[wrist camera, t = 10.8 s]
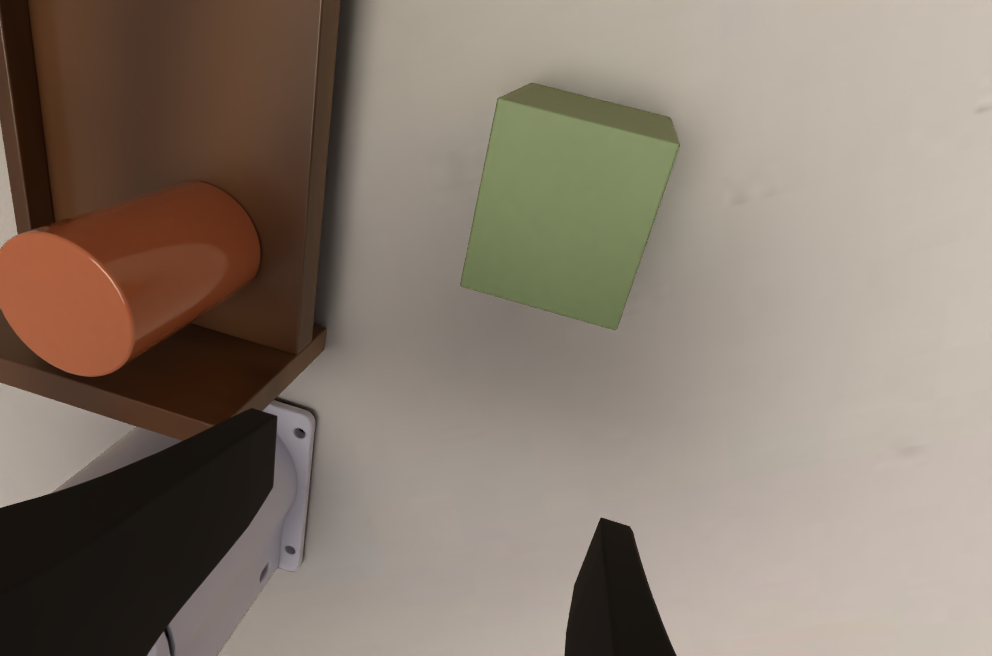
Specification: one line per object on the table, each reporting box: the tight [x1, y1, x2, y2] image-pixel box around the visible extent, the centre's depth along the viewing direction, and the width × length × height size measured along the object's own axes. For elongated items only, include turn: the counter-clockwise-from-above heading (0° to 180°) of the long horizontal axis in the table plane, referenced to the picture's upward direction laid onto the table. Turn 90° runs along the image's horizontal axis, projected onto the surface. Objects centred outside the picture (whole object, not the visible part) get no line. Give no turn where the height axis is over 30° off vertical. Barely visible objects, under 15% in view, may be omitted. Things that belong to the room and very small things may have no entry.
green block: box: [460, 83, 680, 330], centre depth 18 cm, size 5×4×5 cm
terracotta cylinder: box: [0, 181, 261, 377], centre depth 18 cm, size 4×4×6 cm
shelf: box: [0, 0, 341, 441], centre depth 18 cm, size 10×18×7 cm, turn 168°
